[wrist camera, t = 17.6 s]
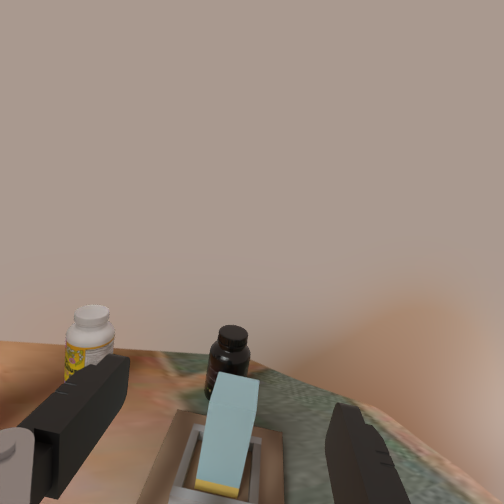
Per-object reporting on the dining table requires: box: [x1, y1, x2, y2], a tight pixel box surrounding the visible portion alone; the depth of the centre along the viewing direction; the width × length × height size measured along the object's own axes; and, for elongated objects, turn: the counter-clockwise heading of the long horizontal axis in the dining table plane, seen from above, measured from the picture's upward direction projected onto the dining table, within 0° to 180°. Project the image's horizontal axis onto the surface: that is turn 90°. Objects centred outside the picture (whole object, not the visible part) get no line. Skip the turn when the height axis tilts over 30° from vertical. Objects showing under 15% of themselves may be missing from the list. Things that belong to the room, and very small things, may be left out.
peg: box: [194, 372, 259, 499], centre depth 34 cm, size 5×5×12 cm
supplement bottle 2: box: [204, 325, 250, 401], centre depth 49 cm, size 7×7×12 cm
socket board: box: [137, 410, 284, 504], centre depth 35 cm, size 16×16×3 cm
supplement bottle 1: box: [64, 305, 115, 383], centre depth 45 cm, size 7×7×13 cm
